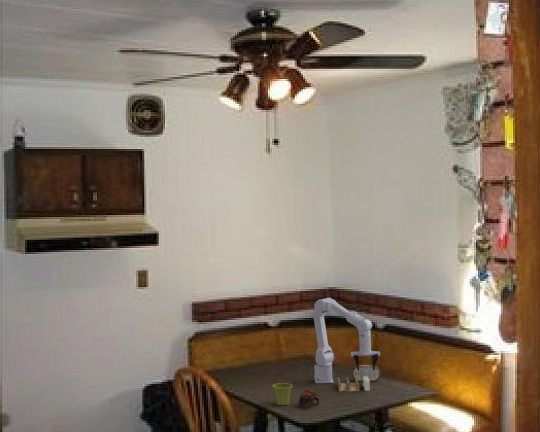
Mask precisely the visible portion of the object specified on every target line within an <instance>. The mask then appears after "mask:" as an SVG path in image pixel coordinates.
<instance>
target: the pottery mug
mask: <svg viewBox="0 0 540 432" xmlns="http://www.w3.org/2000/svg"><path fill="white" fill-rule="evenodd" d="M319 397H320V395H319V393H318V392H317V393H316V392H315V391H311V390H309V389H304V390H303V392H302V393H300V396H299V400H298V401H297V402H298V403H297V404H298V405H297V406H299V407H301V408H304V409H306V408H307V407H308V408H309V407H312V406H313V403H314V401H316V403H317V404H318V405H319V404H320V398H319ZM317 404H316V405H317Z"/></svg>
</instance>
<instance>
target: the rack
mask: <svg viewBox="0 0 540 432" xmlns="http://www.w3.org/2000/svg"><path fill="white" fill-rule="evenodd" d="M349 379H350V378H349V377H348V376H347V377H346V383H345V382H341V379H340V377H337V387H338V390H339V392H360V383H359V382H360V381H358V379H357V377H355V379H354V380H355V382H350V380H349Z"/></svg>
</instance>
